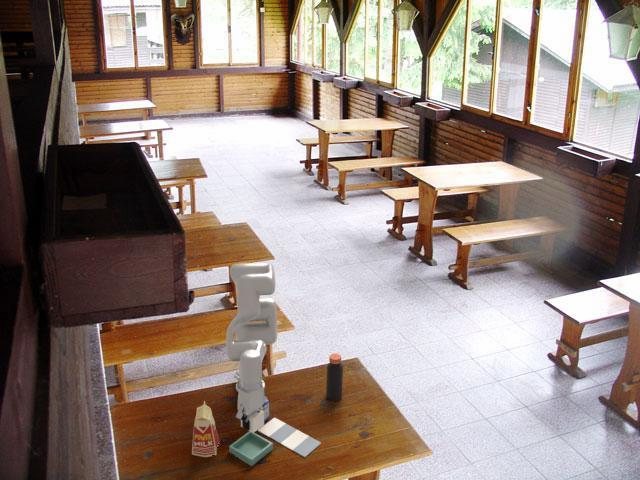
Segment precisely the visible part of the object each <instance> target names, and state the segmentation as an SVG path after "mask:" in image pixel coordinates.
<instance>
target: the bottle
mask: <svg viewBox="0 0 640 480" xmlns="http://www.w3.org/2000/svg"><path fill="white" fill-rule="evenodd" d="M328 361H329V363H328V364H327V365H326V384H325V385H326V389H325V391H326V394H325V396H326V398H327V399H328V400H329V401H333V402H335V401H336V402H337V401H340V400H341V399H342V397H343V379H344V366H343V364H342V355H341V354H339V353H331V354H330V355H329V359H328Z"/></svg>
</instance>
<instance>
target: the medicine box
mask: <svg viewBox="0 0 640 480" xmlns="http://www.w3.org/2000/svg"><path fill="white" fill-rule="evenodd" d="M263 409H264V410H263V411H264V422H265V421H267V420H268V419H269V418H270V400H269V399H267V400H266V402H265V405H264V407H263Z"/></svg>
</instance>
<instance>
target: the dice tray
mask: <svg viewBox="0 0 640 480" xmlns="http://www.w3.org/2000/svg"><path fill="white" fill-rule="evenodd" d="M228 448H229V449H228V450H229V451H228V453H229V452H231V453H232V454H234V455H235V456H234V455H233V456H234V457H235V458H237V457H238V459H239V460H241V461H242V462H244V463H246V464H248V465H249V466H250V467H253V466H254V465H256V464H257V463H258V462H259V461H261V460H262V459H263V458H264V457H266V456H267V455H268V454H269V453H271V452H272V451H273V450H274V443H273V442H271V441H270V440H268V439H266V438H264V437H263V436H261V435H259V434H257V433H255V432H254V433H252V432H250V431H247V432H246V433H245V434H244V435H241V437H240V438H238V439H237V440H236V441H234V442H233V443H231V444H230V445H229V446H228ZM231 453H230V454H231ZM232 454H231V455H232Z"/></svg>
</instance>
